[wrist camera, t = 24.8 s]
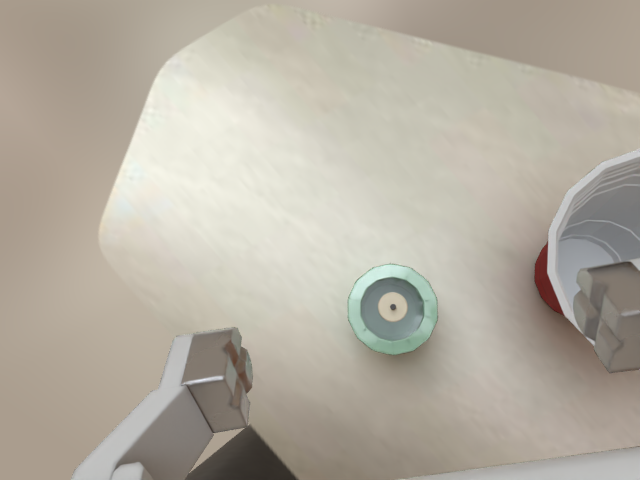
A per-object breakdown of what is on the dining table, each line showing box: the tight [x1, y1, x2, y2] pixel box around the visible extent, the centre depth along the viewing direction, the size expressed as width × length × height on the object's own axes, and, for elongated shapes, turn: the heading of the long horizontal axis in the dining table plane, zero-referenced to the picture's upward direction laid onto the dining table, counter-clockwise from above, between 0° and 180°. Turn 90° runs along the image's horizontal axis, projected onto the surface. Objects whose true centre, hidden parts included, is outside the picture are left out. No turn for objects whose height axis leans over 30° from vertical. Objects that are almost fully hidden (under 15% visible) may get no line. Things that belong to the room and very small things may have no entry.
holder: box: [348, 264, 438, 355], centre depth 31 cm, size 5×5×7 cm
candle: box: [378, 292, 408, 322], centre depth 30 cm, size 2×2×9 cm
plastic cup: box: [535, 149, 640, 370], centre depth 28 cm, size 11×11×12 cm
